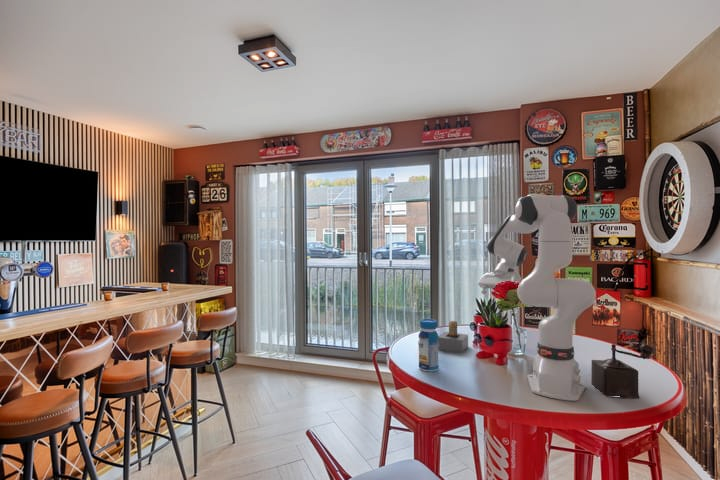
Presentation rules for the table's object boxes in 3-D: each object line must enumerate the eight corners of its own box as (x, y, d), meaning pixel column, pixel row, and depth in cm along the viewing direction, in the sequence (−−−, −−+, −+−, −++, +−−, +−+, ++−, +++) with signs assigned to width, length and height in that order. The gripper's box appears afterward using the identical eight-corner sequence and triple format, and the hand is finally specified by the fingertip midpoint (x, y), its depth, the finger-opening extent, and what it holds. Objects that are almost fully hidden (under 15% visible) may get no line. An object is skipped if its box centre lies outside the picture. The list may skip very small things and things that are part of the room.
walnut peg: (455, 347, 172) (455, 323, 172) (447, 346, 174) (447, 322, 174) (458, 345, 175) (458, 321, 175) (450, 344, 177) (450, 320, 177)
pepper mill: (606, 397, 119) (606, 344, 119) (590, 384, 130) (590, 335, 130) (658, 400, 116) (657, 346, 117) (637, 387, 127) (636, 337, 127)
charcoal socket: (462, 353, 167) (462, 340, 167) (437, 349, 173) (437, 337, 173) (468, 346, 177) (468, 334, 177) (444, 343, 183) (444, 331, 183)
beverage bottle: (439, 372, 142) (439, 323, 142) (418, 371, 143) (417, 322, 144) (438, 365, 150) (438, 318, 150) (418, 364, 152) (418, 317, 152)
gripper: (482, 268, 185) (470, 288, 179) (519, 270, 168) (507, 291, 162) (488, 276, 187) (476, 296, 181) (524, 279, 170) (513, 301, 164)
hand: (491, 294), depth 171 cm, fingers open, 8 cm apart
